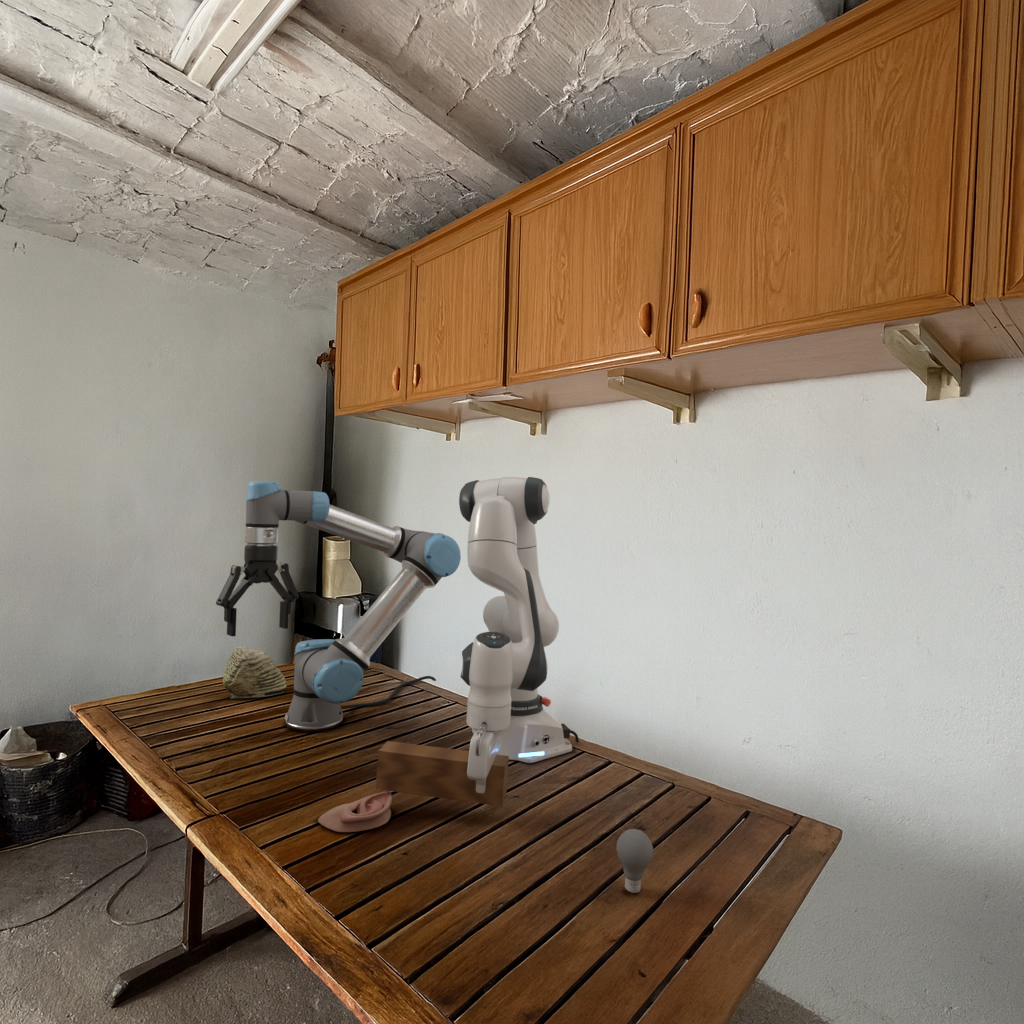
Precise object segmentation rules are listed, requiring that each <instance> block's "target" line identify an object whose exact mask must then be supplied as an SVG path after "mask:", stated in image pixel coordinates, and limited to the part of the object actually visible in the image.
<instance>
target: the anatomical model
mask: <svg viewBox="0 0 1024 1024" xmlns="http://www.w3.org/2000/svg"><path fill="white" fill-rule="evenodd" d="M392 803H393V794H392V791H386V790H384V791H380V792H376V793H374V794H371V795H367V796H366V797H362V798H360V799H358V800H355V801H352V802H350V803H344V804H340V805H337V806H335V807H333V808H331V809H329V810H327V811H326V812H324V813H322V814H321V815H320V816H319V817H318V820H317V821H318V823H319V824H320V825H321V826H323V827H325V828H326V829H328V830H331V831H333V832H337V833H352V832H355V833H356V832H362V831H367V830H372V829H376V828H379V827H382V826H383V825H386V824H387V823H388V822H389V821H390V819H391V816H392V810H391V808H390V807H391V805H392Z"/></svg>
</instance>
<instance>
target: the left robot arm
mask: <svg viewBox="0 0 1024 1024" xmlns="http://www.w3.org/2000/svg"><path fill="white" fill-rule="evenodd" d="M246 488H247V489H246V498H245V526H244V527H245V529H244V543H245V544H246V545H245V546H244V549H243V550H244V552H243V553H244V554H243V555H244V556H243V558H244V559H243V561H244V565H243V566H241V565H236V564H233V565H231V567H230V571H229V576H228V578H227V580H226V581H225V584H224V586H223V587H222V589H221V591H220V593H219V595H218V597H217V599H216V601H215V605H216V606H219V607H222V608H223V620H224V622H225V623H226V635H228V636H230V637H236V635H237V611H238V609H237V608H236V607H235V606H236V604H237V603H238V602H239V600H240V599H241V598H242V597H243V595H244V594H245V593H246V592H247V591H248V589H249V588H250V587H251V586H253V585H254V584H261V583H263V584H264V583H265V584H267V583H269V584H270V585H271V586H272V588H273V589H274V590H275V592H276V593H277V594H278V595H279V596H280V598H281V599H282V600H283V601H282V600H281V601H279V621H278V622H279V624H278V627H279V629H280V628H281V629H284V630H287V629H289V615H291V614H292V603H294V602H295V600H298V599H299V598H300V595H299V592H298V589H297V587H296V585H295V583H294V580H293V577H292V575H291V573H290V565H289V563H287V562H279V563H277V560H278V554H279V553H278V551H279V547H278V546H277V545H276V544H278V542H279V527H280V525H279V524H280V521H293V522H296V523H298V524H299V523H300V524H302V525H305V526H308V527H312V528H314V529H317V530H320V531H322V532H326V533H328V534H332V535H334V536H337V537H340V538H343V539H345V540H348V541H351V542H354V543H357V544H359V545H361V546H365V547H368V548H371V549H374V550H378V551H379V552H382V553H383V555H384V556H385V557H386V558H390V559H392V560H394V561H396V562H399V563H401V570H400V571H399V572H398V574H397V575H396V576H395V577H394V578H393V579H392V581H391V582H390V583H389V584H388V585H387V587H386V588H385V589H384V590H383V591H382V592H381V593H380V595H379V596H378V597H377V599H375V601H374V602H373V603H372V604H371V605H370V607H368V609H367V610H366V612H365V613H364V614H363V615H362V616H361V617H360V618H359V620H357V622H356V623H355V625H353V627H352V628H351V629H350V630H349V632H348V633H347V634H346V635H345V636H344V637H343V638H336V639H332V638H323V639H322V638H320V639H307V640H303V641H299V642H297V644H296V645H295V650H294V653H293V654H294V655H293V656H294V672H293V673H294V674H293V695H292V696H293V697H292V699H291V702H290V704H289V708H288V711H287V712H286V713H285V716H284V719H285V726H286V728H287V729H289V730H291V731H294V732H295V731H296V732H301V733H316V732H325V731H329V730H332V729H335V728H337V727H339V726H340V725H342V723H343V722H344V714H343V710H345V709H355V708H364V707H373V706H380V705H383V704H386V703H388V702H390V700H392V699H393V698H394V697H395V696H396V694H397V692H398V690H399V689H401V688H403V687H405V686H408V685H411V684H412V685H413V684H415V683H417V682H420V681H424V680H428V679H429V680H432V681H433V682H436V681H437V679H436V678H435V677H434V676H431V675H425V676H421V677H418V678H416V679H413V680H409V681H405V682H403V683H400V684H399V685H397V686H395V688H394V690H393V692H392V693H391V694H390V695H389V696H388V697H387V698H384V699H382V700H378V701H373V702H363V703H355V704H354V703H353V704H344V703H347V702H349V701H350V700H352V699H353V698H355V697H356V696H357V695H358V694H359V693H360V691H361V689H362V688H363V684H364V675H365V673H366V672H367V671H368V670H369V669H370V667H371V662H370V661H371V660H370V659H371V657H372V656H373V655H374V654H375V652H377V649H378V648H379V647H380V646H381V645H382V643H383V642H384V641H385V640H386V638H387V637H388V636H389V635H390V633H391V632H392V631H393V630H394V628H395V627H396V626H397V625H398V623H400V621H401V620H402V619H403V617H404V616H405V615H406V614H407V613H408V611H409V610H410V609H411V608H412V606H413V605H414V604H415V603H416V602H417V600H418V599H419V598H420V597H421V595H422V594H423V593H424V592H425V590H427V589H433V588H435V587H436V585H438V584H439V582H440V581H441V579H442V578H447V577H450V576H452V575H453V574H454V573H455V572H456V571H457V570H458V568H459V567H460V563H461V558H462V556H461V549H460V546H459V543H457V541H456V540H455V539H454V538H453V537H451V536H450V535H448V534H444V533H442V532H441V533H440V532H428V531H425V530H424V531H422V530H414V529H408V528H403V527H401V526H398V525H395V526H393V527H391V526H389V525H386V524H383V523H381V522H378V521H375V520H372V519H369V518H367V517H365V516H362V515H359V514H357V513H353V512H351V511H349V510H346V509H343V508H341V507H338V506H335V505H333V504H330V497H329V495H328V494H327V493H326V492H324V491H316V490H313V491H312V490H292V489H282V488H281V484H280V482H279V481H269V480H268V481H264V480H251V481H249V482H248V484H247V487H246ZM277 572H279V575H280V578H281V580H282V583H283V584H284V585H283V584H282V583H281V582H280V579H279V578H278V577H277V575H276V573H277ZM242 574H244V576H243V577H242V578H241V579H240V577H241V575H242ZM239 580H240V582H239V584H238V585H237V583H238V581H239ZM236 585H237V586H236ZM284 586H285V587H284ZM341 704H344V705H341Z"/></svg>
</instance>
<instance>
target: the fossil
mask: <svg viewBox="0 0 1024 1024" xmlns="http://www.w3.org/2000/svg"><path fill="white" fill-rule="evenodd" d="M222 676H223V677H222V685H223V687H224V688H225V690H226V691H228V693H229V698H230V699H250V698H264V697H271V696H275V695H281V694H284V693H285V691H286V689H287V687H288V686H287V680H286V678H285V676H284V674H283V673H282V672H281V669H279V668H278V667H277V665H276V663H275V662H274V660H273V659H272V658H271V657H270V656H269V655H268V654H267V653H266V652H265V650H264V649H263V648H260V647H258V648H251V647H247V646H246V647H245V646H238V647H237V648H236V649H235V650H233V651H232V653H231V656H230V657H229V659H228V660H227V663H226V666H225V668H224V671H223V675H222Z"/></svg>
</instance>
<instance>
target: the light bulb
mask: <svg viewBox="0 0 1024 1024" xmlns="http://www.w3.org/2000/svg"><path fill="white" fill-rule="evenodd" d="M615 849H616V854H617V857H618V859H619V861H620V863H621V865H622V867H623V873H624V874H623V875H624V876H625V878H624V888H625V890H627V891H628V892H630V893H634V894H635V893H639V892H640V891H641V889H642V887H641V886H642V879H643V877H644V875H645V871H646V868H647V867H648V866H649V864H650V863H651V861H652V859H653V855H654V847H653V843H652V841H651V838H649V836H648V835H647V834H646V833H645V832H643V831H642V830H641V829H636V828H629V829H627V830H625V831H623V832H622V833H621V834H620V835H619V837H618V839H617V841H616V847H615Z"/></svg>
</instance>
